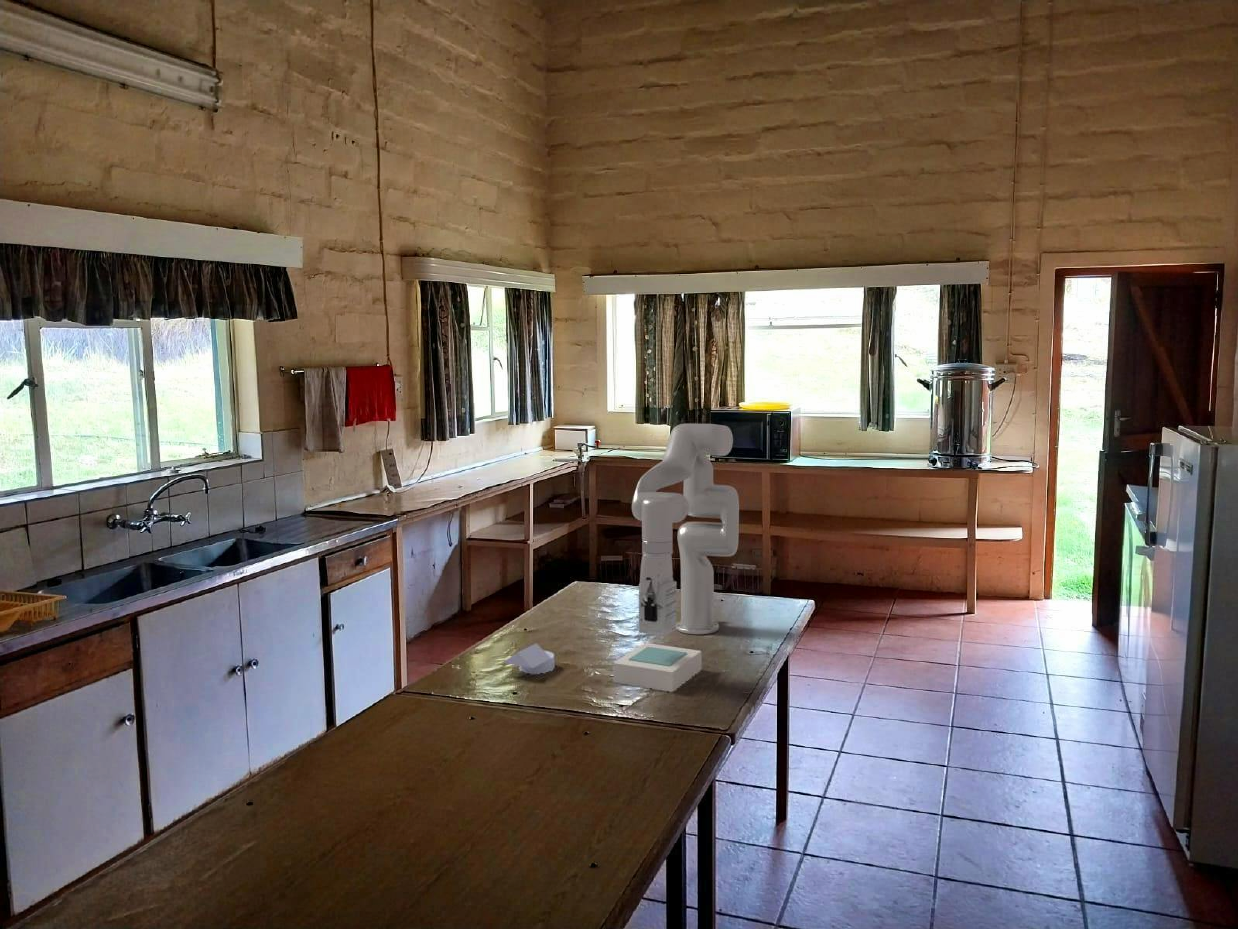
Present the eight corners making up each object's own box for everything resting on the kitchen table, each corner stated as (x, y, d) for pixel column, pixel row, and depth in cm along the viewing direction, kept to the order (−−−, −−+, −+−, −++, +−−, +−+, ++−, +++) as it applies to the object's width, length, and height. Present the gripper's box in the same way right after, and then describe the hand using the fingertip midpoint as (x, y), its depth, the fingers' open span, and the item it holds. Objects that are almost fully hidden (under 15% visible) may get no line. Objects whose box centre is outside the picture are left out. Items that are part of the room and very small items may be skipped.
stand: (645, 661, 258) (644, 641, 258) (701, 669, 251) (701, 649, 250) (613, 682, 242) (613, 661, 242) (672, 692, 235) (672, 671, 234)
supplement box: (637, 633, 244) (637, 583, 242) (650, 626, 250) (650, 577, 249) (664, 637, 240) (664, 586, 239) (677, 629, 247) (677, 580, 245)
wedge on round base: (532, 681, 244) (561, 666, 255) (532, 655, 243) (560, 641, 255) (503, 675, 249) (532, 660, 260) (502, 649, 248) (531, 636, 259)
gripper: (658, 539, 252) (658, 606, 254) (627, 552, 237) (628, 624, 239) (685, 542, 249) (685, 610, 251) (656, 555, 233) (656, 627, 235)
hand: (657, 616), depth 245 cm, fingers closed on supplement box, 7 cm apart
